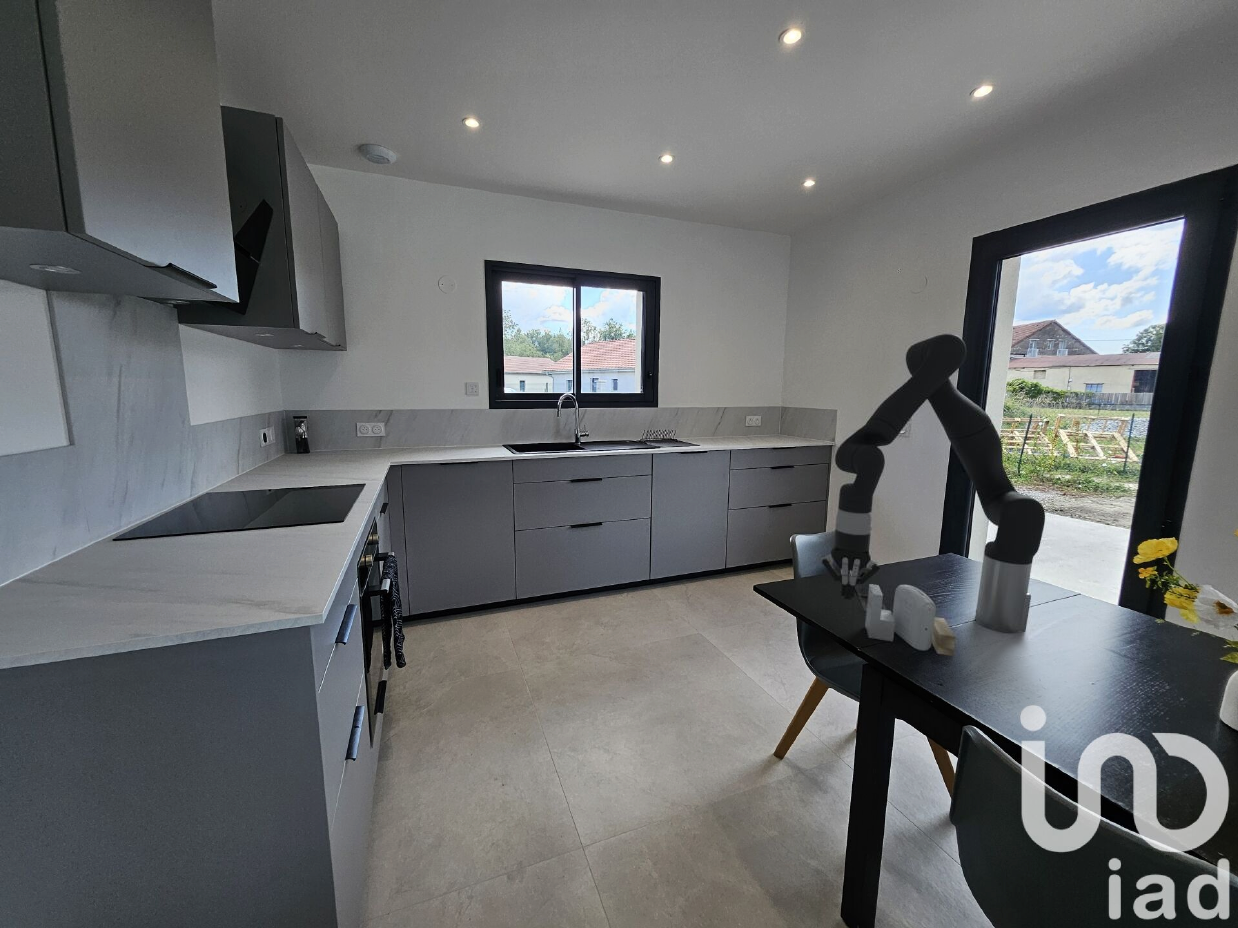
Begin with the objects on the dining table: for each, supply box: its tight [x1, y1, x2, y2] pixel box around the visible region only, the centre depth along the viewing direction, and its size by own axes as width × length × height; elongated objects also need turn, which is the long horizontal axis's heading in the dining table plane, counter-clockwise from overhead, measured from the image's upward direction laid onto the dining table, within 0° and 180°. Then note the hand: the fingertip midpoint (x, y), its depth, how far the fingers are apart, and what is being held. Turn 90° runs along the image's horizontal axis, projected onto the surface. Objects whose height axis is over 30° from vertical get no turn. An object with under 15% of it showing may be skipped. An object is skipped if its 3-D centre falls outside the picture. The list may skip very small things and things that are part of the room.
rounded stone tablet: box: [891, 584, 937, 651], centre depth 112 cm, size 10×4×12 cm, turn 3°
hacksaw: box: [854, 584, 889, 611], centre depth 129 cm, size 24×10×2 cm, turn 164°
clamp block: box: [931, 616, 957, 657], centre depth 110 cm, size 3×9×4 cm, turn 160°
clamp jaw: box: [864, 583, 895, 643], centre depth 114 cm, size 5×6×11 cm
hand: (846, 597), depth 116 cm, fingers closed
